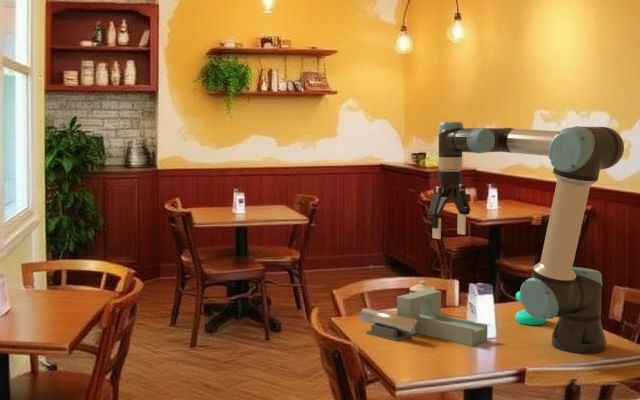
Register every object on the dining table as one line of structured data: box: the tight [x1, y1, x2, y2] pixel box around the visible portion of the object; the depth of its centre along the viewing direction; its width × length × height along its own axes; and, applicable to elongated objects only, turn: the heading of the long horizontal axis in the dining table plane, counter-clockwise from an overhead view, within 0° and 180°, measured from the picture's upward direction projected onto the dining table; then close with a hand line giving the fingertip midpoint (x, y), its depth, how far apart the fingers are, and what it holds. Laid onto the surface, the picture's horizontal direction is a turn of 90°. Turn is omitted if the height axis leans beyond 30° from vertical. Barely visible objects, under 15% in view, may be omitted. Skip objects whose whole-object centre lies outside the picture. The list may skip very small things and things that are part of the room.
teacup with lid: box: [408, 280, 437, 294], centre depth 261 cm, size 12×9×12 cm
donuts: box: [514, 290, 548, 326], centre depth 249 cm, size 10×10×10 cm
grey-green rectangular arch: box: [396, 289, 442, 336], centre depth 241 cm, size 5×16×11 cm, turn 135°
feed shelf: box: [417, 313, 488, 347], centre depth 232 cm, size 20×8×5 cm, turn 45°
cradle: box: [365, 324, 412, 342], centre depth 234 cm, size 12×7×3 cm, turn 45°
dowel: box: [359, 307, 419, 335], centre depth 234 cm, size 20×4×4 cm, turn 45°
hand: (449, 236), depth 245 cm, fingers open, 13 cm apart
